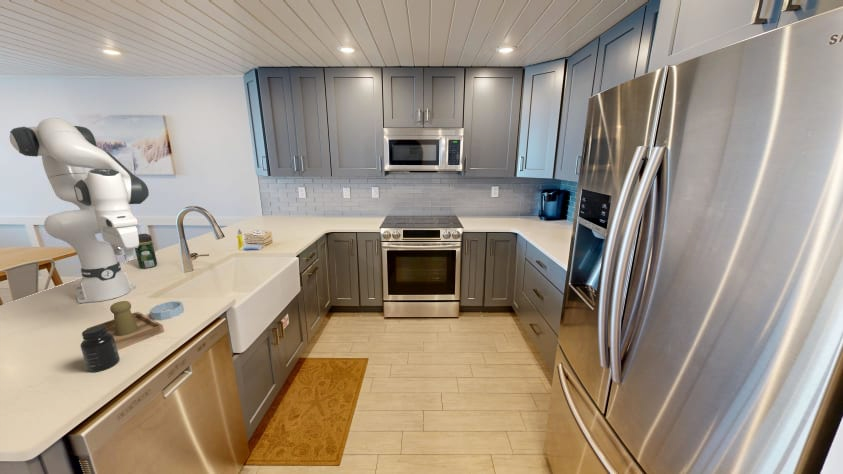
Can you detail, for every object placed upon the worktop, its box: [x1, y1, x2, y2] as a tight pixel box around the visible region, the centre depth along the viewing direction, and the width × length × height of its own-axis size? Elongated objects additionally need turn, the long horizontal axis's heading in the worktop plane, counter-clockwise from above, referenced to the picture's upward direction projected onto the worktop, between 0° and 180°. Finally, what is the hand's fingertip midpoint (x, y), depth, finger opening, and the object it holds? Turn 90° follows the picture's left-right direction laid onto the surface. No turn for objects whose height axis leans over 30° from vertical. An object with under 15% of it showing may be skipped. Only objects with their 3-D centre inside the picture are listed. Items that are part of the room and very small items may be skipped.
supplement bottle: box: [79, 325, 121, 373], centre depth 90 cm, size 7×7×12 cm
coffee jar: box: [134, 233, 158, 270], centre depth 172 cm, size 10×8×19 cm
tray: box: [86, 311, 165, 351], centre depth 108 cm, size 20×14×3 cm
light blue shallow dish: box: [149, 300, 185, 321], centre depth 122 cm, size 10×10×3 cm
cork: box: [109, 300, 138, 336], centre depth 107 cm, size 6×6×11 cm
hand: (123, 257), depth 108 cm, fingers open, 8 cm apart
